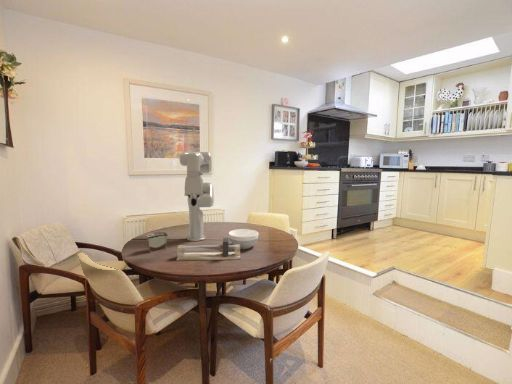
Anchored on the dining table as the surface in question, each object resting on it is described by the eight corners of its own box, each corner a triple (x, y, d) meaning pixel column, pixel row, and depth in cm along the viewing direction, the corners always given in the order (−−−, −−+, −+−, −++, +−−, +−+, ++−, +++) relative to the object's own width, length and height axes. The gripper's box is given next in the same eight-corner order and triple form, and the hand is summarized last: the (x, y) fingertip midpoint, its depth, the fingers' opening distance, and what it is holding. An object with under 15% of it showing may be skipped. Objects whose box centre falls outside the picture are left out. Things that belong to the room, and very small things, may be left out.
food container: (163, 246, 156) (163, 230, 155) (168, 248, 152) (167, 232, 151) (143, 250, 147) (142, 234, 146) (147, 253, 143) (147, 236, 142)
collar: (223, 251, 143) (223, 238, 142) (228, 251, 143) (228, 238, 143) (222, 256, 136) (222, 241, 135) (228, 256, 136) (228, 241, 135)
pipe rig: (180, 254, 142) (179, 243, 141) (239, 253, 145) (239, 242, 144) (176, 260, 133) (176, 249, 132) (240, 259, 136) (240, 247, 136)
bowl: (223, 248, 153) (223, 234, 153) (236, 240, 171) (236, 227, 170) (251, 252, 147) (251, 238, 146) (262, 243, 164) (262, 230, 163)
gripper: (207, 174, 150) (207, 204, 152) (181, 174, 148) (182, 204, 150) (205, 175, 142) (206, 206, 144) (179, 174, 141) (179, 206, 143)
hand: (193, 205), depth 147 cm, fingers closed
